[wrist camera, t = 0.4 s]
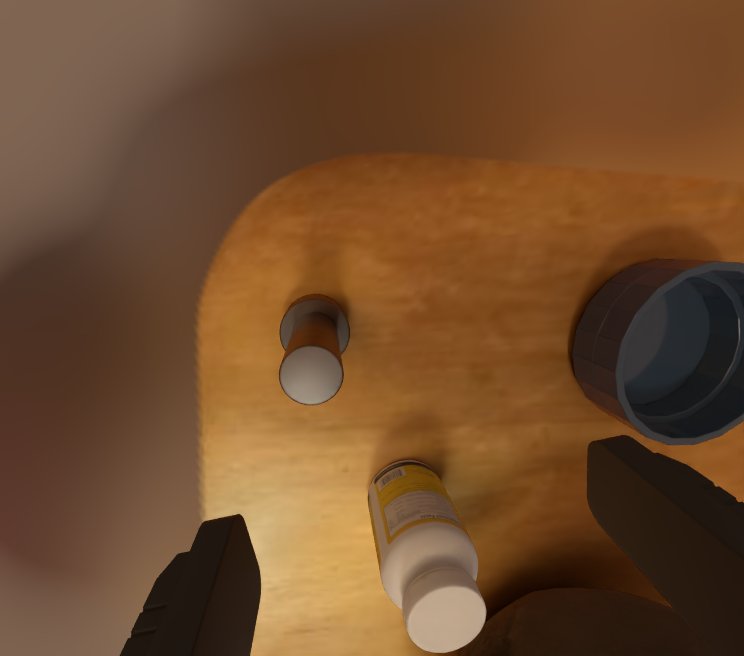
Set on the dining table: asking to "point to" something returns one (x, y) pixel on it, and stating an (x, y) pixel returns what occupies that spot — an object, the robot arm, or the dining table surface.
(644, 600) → the pot
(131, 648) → the robot arm
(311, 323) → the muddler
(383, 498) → the pill bottle
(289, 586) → the dining table surface
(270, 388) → the dining table surface
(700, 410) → the bowl
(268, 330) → the dining table surface
